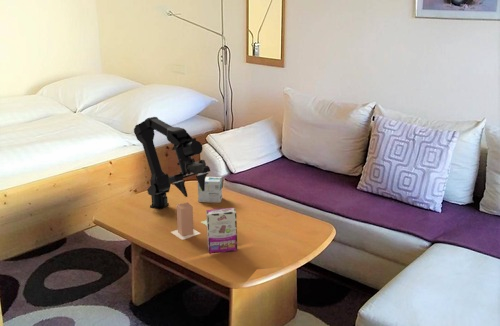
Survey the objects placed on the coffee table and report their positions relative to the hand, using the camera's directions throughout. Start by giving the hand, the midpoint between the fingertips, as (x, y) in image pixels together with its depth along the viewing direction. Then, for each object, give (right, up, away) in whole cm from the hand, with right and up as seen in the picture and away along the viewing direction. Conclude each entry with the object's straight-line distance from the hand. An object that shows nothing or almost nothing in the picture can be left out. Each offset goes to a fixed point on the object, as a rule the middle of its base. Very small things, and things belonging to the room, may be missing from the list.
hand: (195, 193), depth 231 cm
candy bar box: (+12, -21, -19) cm, 30 cm away
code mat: (+3, -15, -2) cm, 15 cm away
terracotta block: (-3, -15, -6) cm, 17 cm away
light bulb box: (+4, -5, +29) cm, 29 cm away
